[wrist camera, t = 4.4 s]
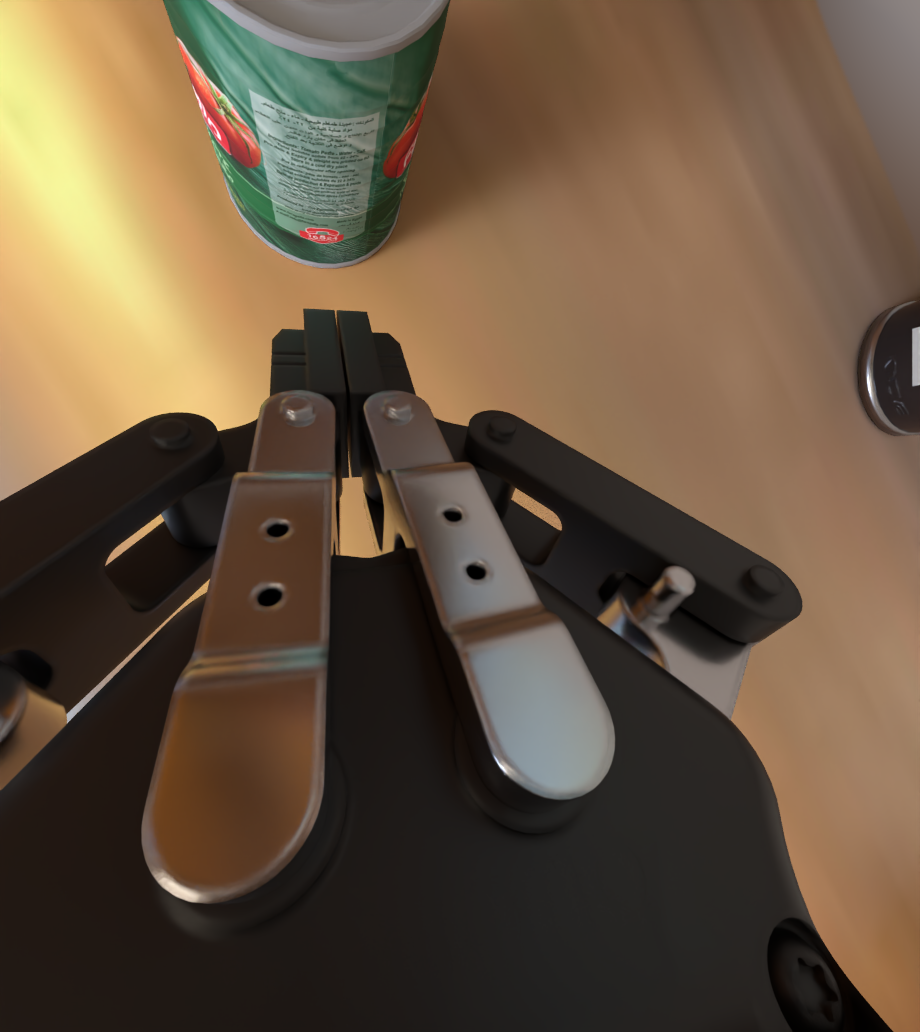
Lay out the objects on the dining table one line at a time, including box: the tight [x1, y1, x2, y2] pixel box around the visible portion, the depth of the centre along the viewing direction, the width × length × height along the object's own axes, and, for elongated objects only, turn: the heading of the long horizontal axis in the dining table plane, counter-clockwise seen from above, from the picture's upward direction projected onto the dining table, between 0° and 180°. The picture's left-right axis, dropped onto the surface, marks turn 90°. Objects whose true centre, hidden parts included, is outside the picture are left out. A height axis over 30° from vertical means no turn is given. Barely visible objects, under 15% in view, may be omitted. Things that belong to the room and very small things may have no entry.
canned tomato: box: [163, 0, 450, 268], centre depth 15 cm, size 8×8×11 cm
